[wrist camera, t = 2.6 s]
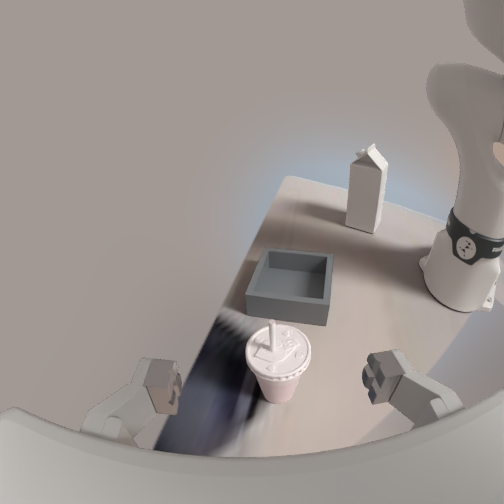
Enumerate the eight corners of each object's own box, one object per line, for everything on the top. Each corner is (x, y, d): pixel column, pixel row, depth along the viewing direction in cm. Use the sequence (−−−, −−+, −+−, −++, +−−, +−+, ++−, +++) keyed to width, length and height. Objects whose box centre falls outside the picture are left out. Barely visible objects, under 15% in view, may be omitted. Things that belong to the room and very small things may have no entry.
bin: (265, 267, 51) (264, 247, 48) (330, 274, 48) (333, 253, 45) (247, 315, 42) (244, 294, 39) (325, 326, 38) (329, 305, 36)
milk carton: (380, 221, 62) (390, 146, 51) (373, 234, 57) (384, 152, 46) (353, 214, 65) (360, 140, 55) (344, 226, 61) (351, 145, 50)
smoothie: (245, 379, 32) (231, 305, 24) (291, 363, 34) (296, 285, 26) (262, 420, 27) (254, 361, 19) (312, 402, 29) (330, 334, 21)
